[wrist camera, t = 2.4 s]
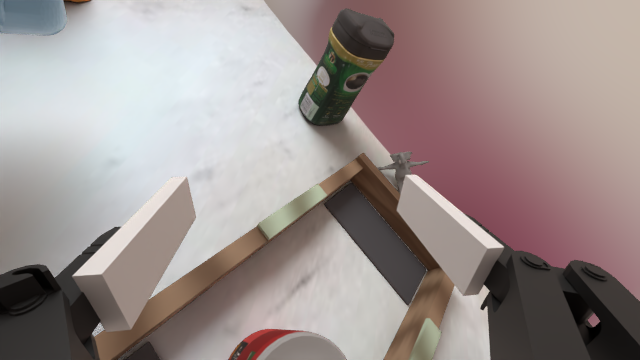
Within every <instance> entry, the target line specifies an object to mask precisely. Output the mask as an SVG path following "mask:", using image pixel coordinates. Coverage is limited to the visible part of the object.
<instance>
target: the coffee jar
mask: <svg viewBox="0 0 640 360" xmlns="http://www.w3.org/2000/svg"><path fill="white" fill-rule="evenodd" d="M393 43H394V33H393V32H392V30H391V29H390V28H389V27H388V26H387V24H386V23H385V22H384V21H383V20H382V19H381V18H374V17H372V16H368V15H365V14H361V13H358V12H355V11H352V10H350V9H344V10H341V11H340V13H339V15H338V17H337V19H336V20H335V22H334V24H333V26H332V28H331V30H330V33H329V41H328V45H327V47H326V50H325V52H324V55H323V56H322V58H321V60H320V62H319V64H318V66H317V68H316V69H315V71H314V73H313V75H312V77H311V78H310V80H309V82H308V83H307V85H306V87H305V89H304V90H303V92H302V94H301V96H300V98H299V106H300V109H301V111H302V113H303V115H304V116H305V117H306V118H307V119H308V120H309V121H310V122H312V123H313V124H315V125H331V124H336V123H339V122H341V121H342V120H343V118H344V117H345V115H346V113H347V112H348V110H349V109H350V107H351V105H352V103H353V102H354V100H355V98H356V97H357V95H358V94H359V92H360V90H361V89H362V87H363V86H364V84H365V83H366V81H367V80H368V78H369V77H370V76H371V74H372V73H373V72H374V70H375V69H376V68H377V67H378V66H379V65H380V64H381V63H382V62H383V61H384V59H385V58H386V56H387V54H388V53H389V51H390V49H391V47H392V46H393Z"/></svg>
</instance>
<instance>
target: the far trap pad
mask: <svg viewBox="0 0 640 360" xmlns="http://www.w3.org/2000/svg"><path fill="white" fill-rule="evenodd" d="M324 205H325V206H326V207H327V208H328V209H329V211H330V212H331V213H332V214H333V216H334V217H335V218H336V219H337V220H338V222H339V223H340V224H341V225H342V226H343V228H344V229H345V230H346V231H347V233H348V234H349V235H350V236H351V237H352V239H353V240H354V241H355V242H356V243H357V245H358V246H359V247H360V248H361V249H362V251H363V252H364V253H365V254H366V256H367V257H368V258H369V259H370V260H371V262H372V263H373V264H374V265H375V266H376V268H377V269H378V270H379V271H380V273H381V274H382V275H383V276H384V277H385V279H386V280H387V281H388V282H389V283H390V285H391V286H392V287H393V288H394V290H395V291H396V292H397V293H398V294H399V296H400V297H401V298H402V299H403V300H404V302H405V303H406V304H407V305H409V303H410V301H411V299H412V297H413V295H414V293H415V291H416V289H417V287H418V285H419V283H420V281H421V279H422V277H423V275H424V273H425V271H426V268H425V267H424V266H423V265H422V264H421V263H420V261H419V260H418V259H417V258H416V257H415V256H414V254H413V253H412V252H411V251H410V250H409V249H408V247H407V246H406V245H405V244H404V243H403V242H402V240H401V239H400V238H399V237H398V236H397V235H396V233H395V232H394V231H393V230H392V229H391V228H390V226H389V225H388V224H387V223H386V222H385V221H384V219H383V218H382V217H381V216H380V215H379V214H378V213H377V211H376V210H375V209H374V208H373V207H372V206H371V204H370V203H369V202H368V201H367V200H366V199H365V197H364V196H363V195H362V194H361V193H360V192H359V190H358V189H357V188H356V187H355V186H354V185H353V183H350V184H349V185H348V186H347V187H345V188H344V189H343V190H341V191H340V192H339V193H338V194H336V195H335V196H334V197H333V198H331V199H330V200H329V201H327V202H326V203H325V204H324Z"/></svg>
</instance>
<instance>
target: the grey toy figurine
mask: <svg viewBox="0 0 640 360" xmlns="http://www.w3.org/2000/svg"><path fill="white" fill-rule="evenodd" d="M411 154H412V152H406V153H402V152H400V153H397V154H392V155H390V157H391V158H392V160H393V162H394V161H395V163H393V164H391V165H388V166H385V167H379V168H377V169H378V170H384V169H395V170H396V172H395V178H396V180H397V182H398V187H399V193H400V194H401V191H402V187H403V181H404V179H405V175H411V171H410V167H413V166H416V165H423V164H425V163H428V162H429V161H423V162H409V161H407V160H409V159H410V155H411Z"/></svg>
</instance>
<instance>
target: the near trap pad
mask: <svg viewBox="0 0 640 360" xmlns="http://www.w3.org/2000/svg"><path fill="white" fill-rule="evenodd" d="M126 360H160V359H159V357H158V356H157V354H156V352H155V351H154V349H153V348H152V346H151V344H150V343H149V342H148V343H147V344H145V345H144V346H143V347H142V348H140V349H139V350H138V351H136V352H135V353H134V354H133V355H131V356H130V357H129V358H128V359H126Z"/></svg>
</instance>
